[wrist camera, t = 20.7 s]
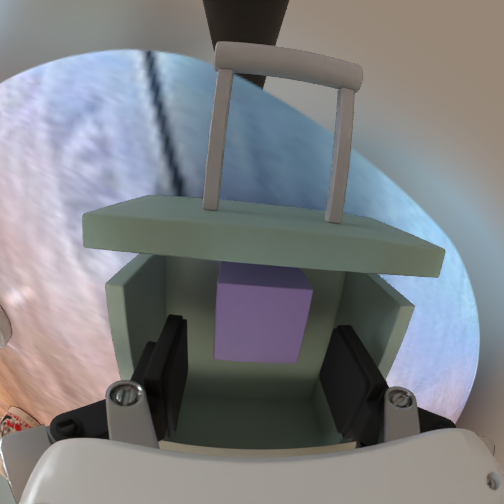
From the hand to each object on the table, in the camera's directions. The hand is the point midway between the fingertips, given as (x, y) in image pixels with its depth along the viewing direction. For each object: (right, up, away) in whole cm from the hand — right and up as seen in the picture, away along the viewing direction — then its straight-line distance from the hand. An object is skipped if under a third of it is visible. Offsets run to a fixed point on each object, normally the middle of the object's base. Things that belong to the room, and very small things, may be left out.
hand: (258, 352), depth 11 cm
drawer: (0, +3, +5) cm, 6 cm away
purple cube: (0, +2, +4) cm, 5 cm away
